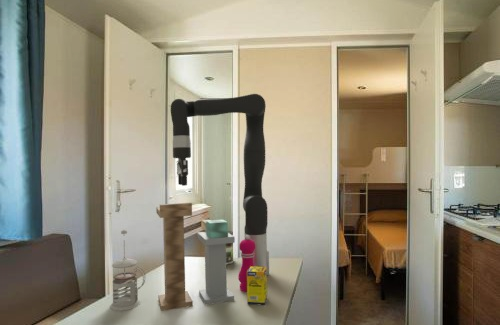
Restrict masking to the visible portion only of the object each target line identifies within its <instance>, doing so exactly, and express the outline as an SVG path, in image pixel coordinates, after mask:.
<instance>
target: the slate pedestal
mask: <svg viewBox="0 0 500 325" xmlns="http://www.w3.org/2000/svg"><path fill="white" fill-rule="evenodd" d="M196 235H197V236H196V237H197V239H198V240H199V241H200V242H201V243H202V244H203V245H204V266H205V267H204V268H205V269H204V270H205V273H204V274H205V277H204V278H205V289H200V290H199V291H198V294H199V295H198V296H199V297H200V298H201V300H202V302H203V304H204V305H205V306H206V305H207V306H208V305H213V304H219V303H220V304H221V303H226V302H231V301H235V295H234V294H233V293H232V292H231V290H229V288H228V287H227V283H228V282H227V265H226V243H233V244H235V240H236V239H235V236H234V235H231V234H229V233H228V237H221V238H211V239H210V238H209V237H208V236H207V235H206V231H198V232H196Z"/></svg>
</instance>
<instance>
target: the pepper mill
mask: <svg viewBox="0 0 500 325" xmlns="http://www.w3.org/2000/svg"><path fill="white" fill-rule="evenodd" d="M249 238H250V237H249V235H246V236H245V235H244V239H242V240H241V241H240V242H239V245H238V248H239V250H240V257H241V259H242V260H241V262H242V263H241V267H240V270H239V272H238V277H237V278H238V281H239V282H240V284H239V290H240V291H241V292H243V293H247V271H248V269H249V268H250V267H251V266H254V263H253V257H254V252H253V251H254V250H255V247H256V246H255V243H254V241H253V240H251V239H249Z"/></svg>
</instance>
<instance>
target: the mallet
mask: <svg viewBox="0 0 500 325" xmlns="http://www.w3.org/2000/svg"><path fill="white" fill-rule="evenodd" d="M200 222H201V229H202V230H204V232H206V235H207V236H208V237H209V238H210V239H211V238H221V237H228V231H229V227H228V225H229V224H228V221H226V220H225V219H213V220H212V219H211V220H210V219H201V221H200Z"/></svg>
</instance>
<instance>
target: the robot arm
mask: <svg viewBox="0 0 500 325" xmlns="http://www.w3.org/2000/svg"><path fill="white" fill-rule="evenodd" d="M235 113H236V114H237V113H240V114H245V122H246V130H245V136H244V143H243V144H244V145H243V171H244V172H243V175H244V190H243V191H244V192H243V201H242V208H243V210H244V212H245V214H244V216H245V221H244V222H245V225H244V237H245V236H246V235H249V237H250V238H249V239H251V240H253V241H254V243H255V246H256V247H255V250H254V251H253V252H254V257H253V263H254V266H256V267H267V276H268V275H269V276H270V253H269V252H270V251H268V243H267V241H268V240H267V239H268V237H267V233H268V232H267V230H268V229H267V228H268V204H267V201H266V199H265V198H264V196H263V189H262V188H263V187H262V186H263V185H262V183H263V176H264V171H265V167H266V143H265V142H266V141H265V132H264V121H265V113H266V100H265V98H264V97H263V96H262V95H261V94H258V93H250V94H246V95H241V96H236V97H235V96H234V97H228V98H227V97H226V98H199V99H196V100H190V101H188V100H187V101H185V100H184V99H183V98H176V99H174V100H172V102H171V105H170V116H171V123H172V158H173V159H178V160H177V161H176V175H177V177H178V178H177V182H178V183H177V184H178V185H179V186H180V185H181V186H187V185H188V175H189V165H188V164H189V161H188V159H190V158H191V157H192V152H191V151H192V149H191V148H192V147H191V144H192V143H191V135H190V134H191V133H190V131H191V130H190V128H191V127H190V124H189V122H188V118H193V117H198V116H200V117H205V116H207V117H210V116H219V115H225V114H235Z"/></svg>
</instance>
